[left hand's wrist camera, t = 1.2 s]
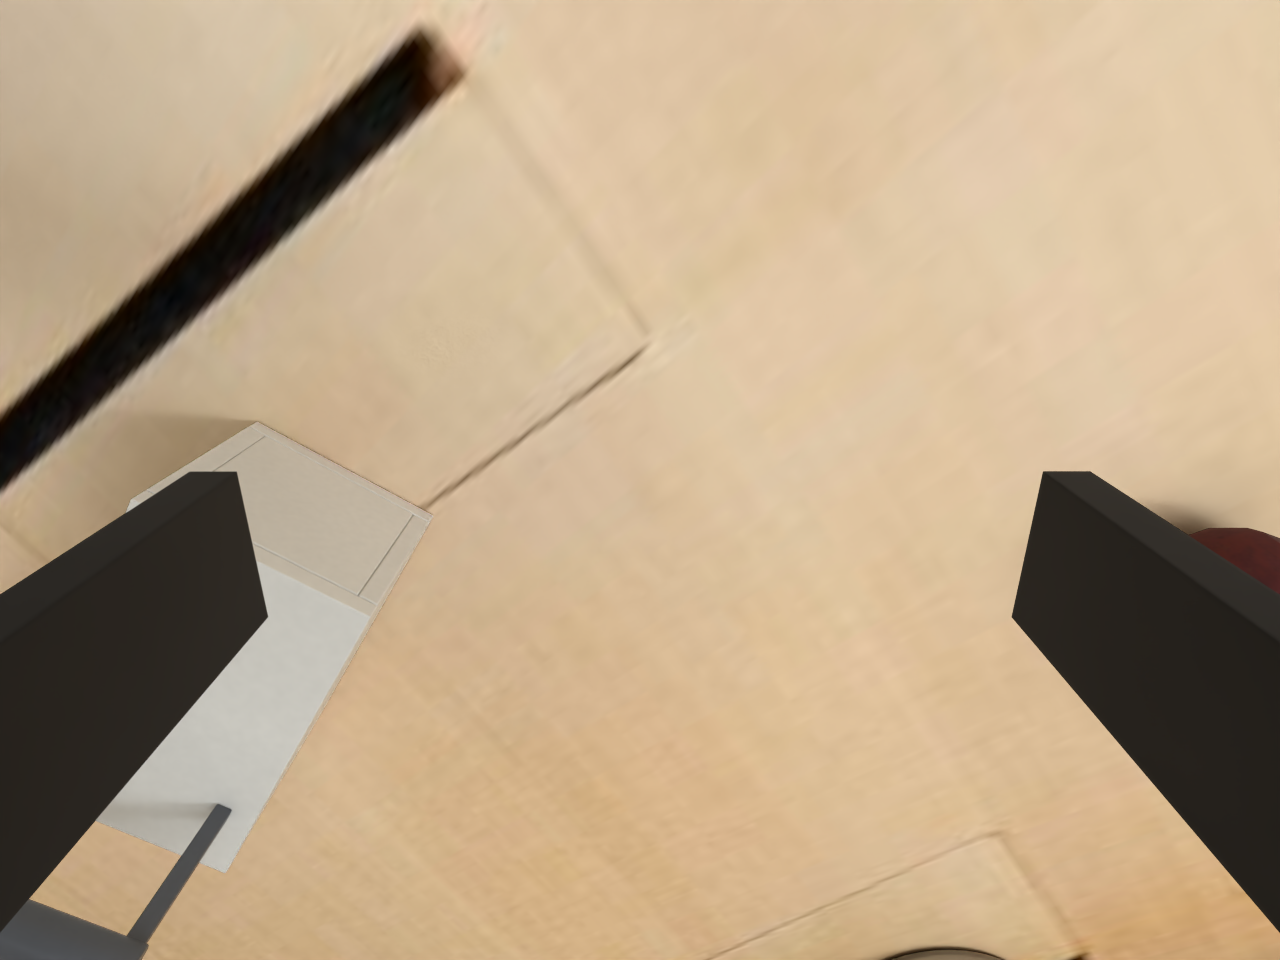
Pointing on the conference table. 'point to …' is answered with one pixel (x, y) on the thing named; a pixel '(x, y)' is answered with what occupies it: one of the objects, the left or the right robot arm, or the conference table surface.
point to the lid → (216, 757)
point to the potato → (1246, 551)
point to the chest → (317, 518)
